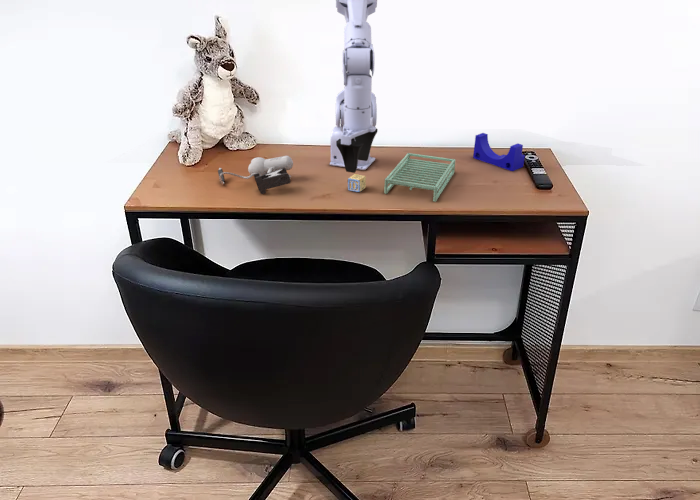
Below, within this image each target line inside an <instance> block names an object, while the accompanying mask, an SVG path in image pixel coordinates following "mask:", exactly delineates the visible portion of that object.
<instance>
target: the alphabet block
mask: <svg viewBox="0 0 700 500" xmlns="http://www.w3.org/2000/svg"><path fill="white" fill-rule="evenodd" d="M366 178H367V177H366V175H363V174H357V173H353V175H351V176H350V177H348V178H347V190H348V191H350V192H355V193H360V192H362V191H364V189H366V187H367V181H366V180H367V179H366Z"/></svg>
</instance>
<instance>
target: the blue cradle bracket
mask: <svg viewBox="0 0 700 500" xmlns="http://www.w3.org/2000/svg"><path fill="white" fill-rule="evenodd" d="M488 135H489V134H488V133H485V132H482V133H478V134H475V136H474V145H473V159H475V160H479V161H481V162H483V163H487V164H490V165H493V166H496V167H498V168H502V169H505V170H507V171H510V172H515V171H517V170H520V169H521V168H523V167H524V164H525V158H526V154H523V148H524V145H523V144H521V143H518V142H517V143H515V144H512V145H510V146H509V150H508V152H507V153H506V154H501V155H499V154H498V153H496V152H495V151H493V149H492V147H491V145H490V144H489V138H488V137H489V136H488Z"/></svg>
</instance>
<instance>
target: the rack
mask: <svg viewBox="0 0 700 500" xmlns="http://www.w3.org/2000/svg"><path fill="white" fill-rule="evenodd" d="M411 157H416V159H415V158H411ZM417 158H424V159H431V160H437V161H438V162H437V161H431V160H423V159H417ZM439 161H444V162H439ZM445 161H446V162H450V163H445ZM455 171H456V158H447V157H442V156H441V157H439V156H432V155H427V154H426V155H425V154H419V153H413V152H412V153H411V152H407V153H406V155H405V156H404V157H403V158H402V159H400V161H399V162H398V164H396V166H395V167H394V168H393V169H392V170H391V172H390V173H389V174H388V175H387V177H385V178H384V187H383V188H384V189H383V190H384V191H383V192H384V193H383V194H385V195H388V193H389V192H390V190H391V189H392V188H393V187H394V186H402V187H408V188H409V191H412V190H413V189H414V188H415V189H421V190H427V191H433V198H432V201H433V202H434V203H437V201H438V199H439V197H440V195H441V194H442V193H443V191H444V190H445V188H446V187H447V185H448V183H449V182H450V181H451V179H452V177H453V176H454V174H455Z"/></svg>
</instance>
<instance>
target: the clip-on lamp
mask: <svg viewBox="0 0 700 500" xmlns="http://www.w3.org/2000/svg"><path fill="white" fill-rule="evenodd" d="M293 166H294V160H293V159H292V157H291V156H289V155H282V156H276V157H272V158H266V159H265V158H264V157H261V156H260V157H259V156H258V157H254V158H252V159H251V160H250V163H249V164H248V168H247V171H248V173H249V176H244V175H240V174H236V173H233V172H229V171H224V170H223V169H222V167H219V168H218V170H217V175H218V179H219V183H220V184H221V185H225V183H226V178H225V175H229V176H234V177H236V178H237V177H238V178H240V179H244V180H249V179H251V178H253V179H254V181H255V184H256V186H257V189H258V191H259V193H260V195H264V194H266V193H267V190H270V189H273V188H278V187H281V186H285V185H289V184H291V178H292V175H291V174H289V173H288V172H287V171H290V170H291V169H292V168H293Z"/></svg>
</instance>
